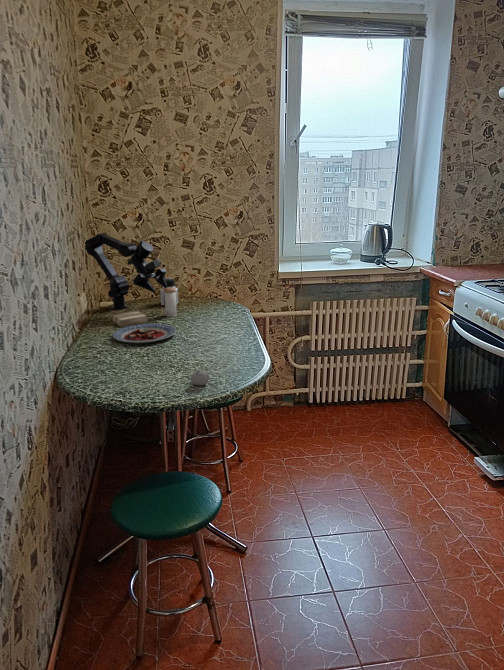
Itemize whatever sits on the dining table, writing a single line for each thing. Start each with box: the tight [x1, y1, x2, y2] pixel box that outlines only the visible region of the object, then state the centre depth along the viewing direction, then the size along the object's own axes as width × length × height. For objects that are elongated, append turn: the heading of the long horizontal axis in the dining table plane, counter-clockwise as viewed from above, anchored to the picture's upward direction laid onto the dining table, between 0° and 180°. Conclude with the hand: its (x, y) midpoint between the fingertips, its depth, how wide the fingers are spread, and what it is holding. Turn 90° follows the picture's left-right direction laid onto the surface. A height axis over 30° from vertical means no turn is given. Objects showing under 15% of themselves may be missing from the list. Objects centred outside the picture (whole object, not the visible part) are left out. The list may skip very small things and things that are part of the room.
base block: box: [112, 310, 148, 328], centre depth 245 cm, size 12×12×3 cm
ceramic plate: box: [112, 323, 177, 344], centre depth 223 cm, size 26×26×3 cm
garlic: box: [190, 369, 210, 386], centre depth 171 cm, size 6×5×5 cm
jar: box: [164, 287, 178, 318], centre depth 253 cm, size 5×5×13 cm
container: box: [159, 277, 179, 306], centre depth 276 cm, size 8×8×13 cm
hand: (160, 290), depth 254 cm, fingers open, 9 cm apart
